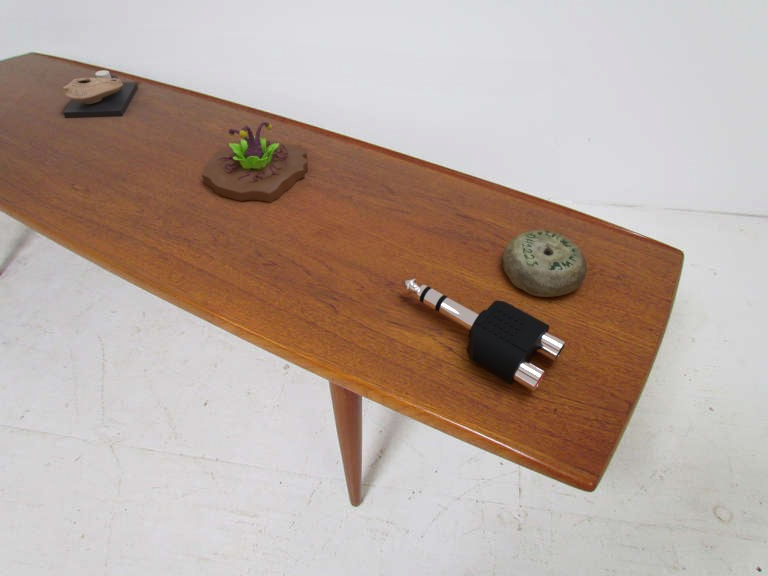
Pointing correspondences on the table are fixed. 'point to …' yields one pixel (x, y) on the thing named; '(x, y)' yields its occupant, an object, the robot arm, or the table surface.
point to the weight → (544, 263)
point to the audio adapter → (497, 335)
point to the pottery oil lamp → (91, 89)
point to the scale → (104, 104)
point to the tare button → (103, 74)
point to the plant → (255, 167)
